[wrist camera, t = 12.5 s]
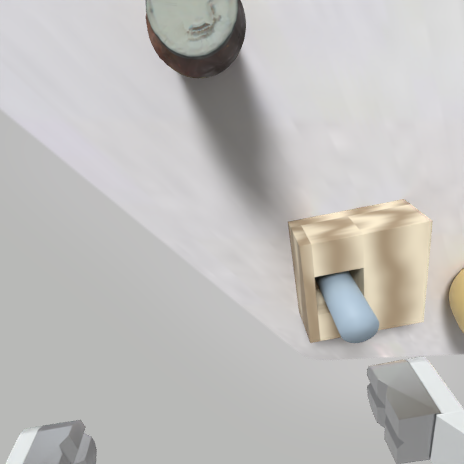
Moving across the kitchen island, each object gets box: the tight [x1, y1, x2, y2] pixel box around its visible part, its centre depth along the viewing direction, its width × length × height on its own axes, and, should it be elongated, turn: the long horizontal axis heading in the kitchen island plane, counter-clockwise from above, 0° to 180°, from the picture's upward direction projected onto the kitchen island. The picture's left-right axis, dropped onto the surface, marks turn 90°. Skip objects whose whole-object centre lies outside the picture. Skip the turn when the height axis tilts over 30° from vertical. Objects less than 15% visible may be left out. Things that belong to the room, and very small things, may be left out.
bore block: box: [288, 199, 432, 343], centre depth 43 cm, size 14×14×6 cm
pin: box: [315, 271, 379, 343], centre depth 40 cm, size 4×4×10 cm
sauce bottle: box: [146, 0, 246, 78], centre depth 24 cm, size 7×6×20 cm
